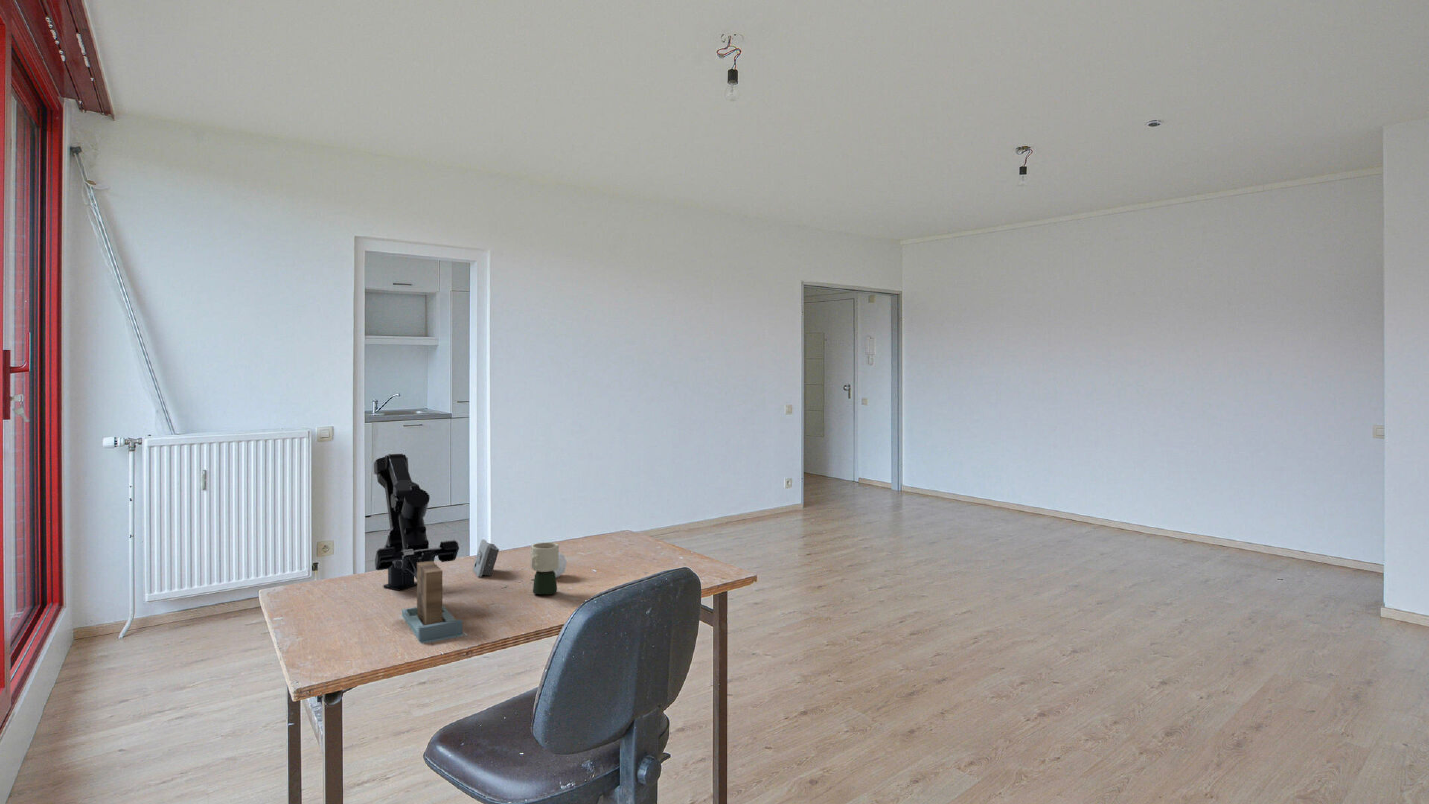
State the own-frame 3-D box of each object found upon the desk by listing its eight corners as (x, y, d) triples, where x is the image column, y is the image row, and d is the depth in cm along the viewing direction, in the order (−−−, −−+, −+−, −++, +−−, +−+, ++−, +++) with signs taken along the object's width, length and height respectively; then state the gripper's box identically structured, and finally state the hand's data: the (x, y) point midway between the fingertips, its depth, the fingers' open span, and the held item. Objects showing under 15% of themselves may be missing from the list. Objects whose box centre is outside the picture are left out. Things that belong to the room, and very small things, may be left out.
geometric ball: (548, 585, 210) (546, 559, 215) (572, 577, 209) (570, 551, 213) (534, 578, 204) (532, 551, 208) (559, 569, 203) (557, 543, 207)
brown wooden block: (417, 616, 173) (416, 562, 172) (432, 614, 174) (432, 560, 174) (426, 629, 164) (426, 572, 164) (442, 627, 166) (442, 570, 166)
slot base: (401, 617, 174) (401, 602, 173) (441, 611, 179) (441, 596, 178) (420, 646, 156) (420, 629, 156) (463, 638, 161) (463, 622, 161)
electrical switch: (472, 570, 215) (475, 538, 215) (490, 569, 218) (493, 538, 217) (478, 578, 207) (481, 546, 207) (496, 578, 209) (500, 545, 209)
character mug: (546, 586, 200) (546, 539, 200) (568, 589, 197) (568, 542, 197) (520, 597, 190) (521, 548, 190) (543, 601, 187) (543, 551, 187)
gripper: (446, 544, 194) (456, 595, 185) (369, 552, 183) (376, 608, 175) (453, 519, 187) (465, 572, 178) (374, 527, 177) (382, 583, 168)
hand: (422, 584), depth 175 cm, fingers closed
